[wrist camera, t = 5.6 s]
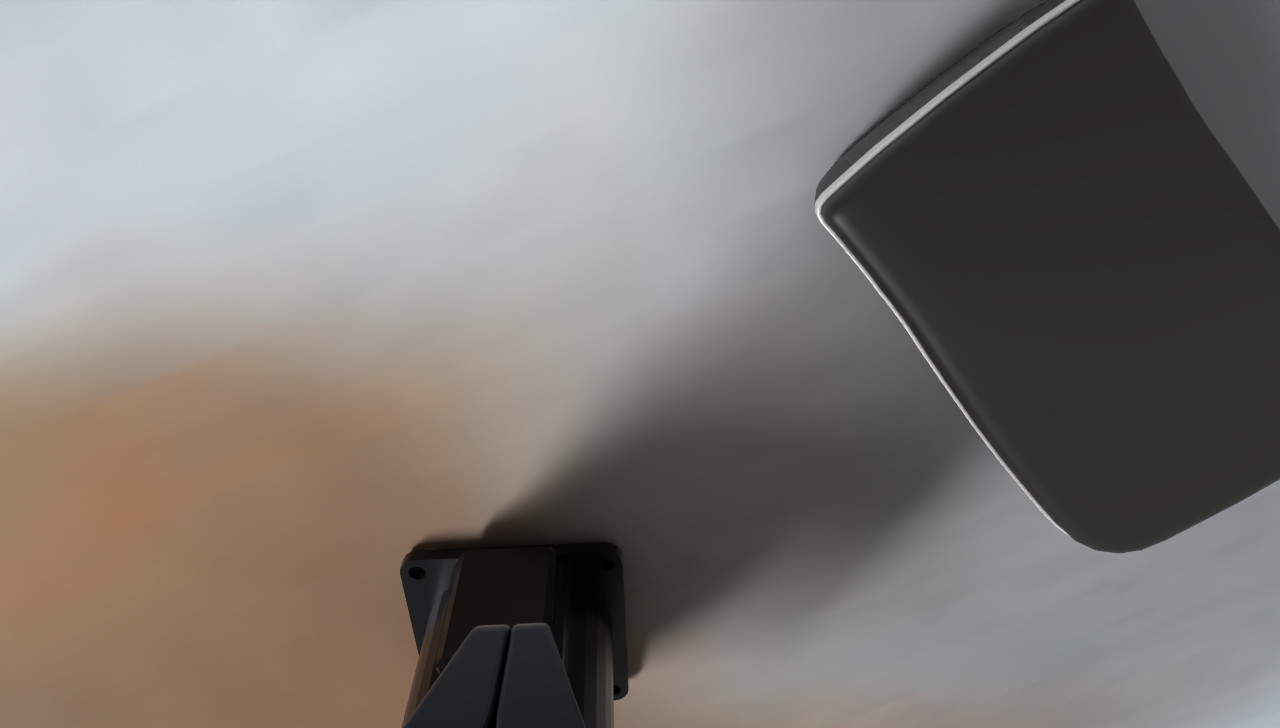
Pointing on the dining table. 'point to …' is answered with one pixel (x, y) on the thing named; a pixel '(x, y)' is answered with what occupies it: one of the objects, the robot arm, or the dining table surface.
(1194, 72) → the mat
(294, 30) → the dining table surface
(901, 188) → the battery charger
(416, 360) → the dining table surface
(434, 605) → the robot arm
